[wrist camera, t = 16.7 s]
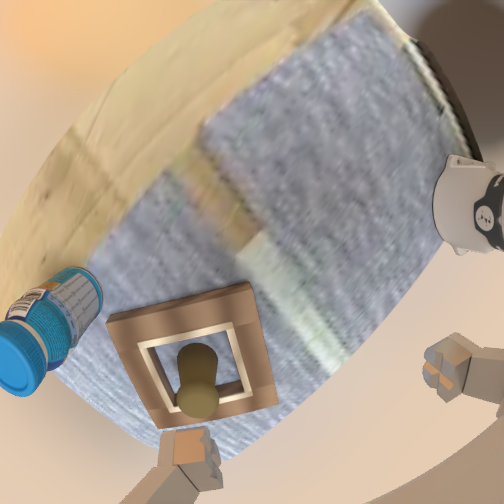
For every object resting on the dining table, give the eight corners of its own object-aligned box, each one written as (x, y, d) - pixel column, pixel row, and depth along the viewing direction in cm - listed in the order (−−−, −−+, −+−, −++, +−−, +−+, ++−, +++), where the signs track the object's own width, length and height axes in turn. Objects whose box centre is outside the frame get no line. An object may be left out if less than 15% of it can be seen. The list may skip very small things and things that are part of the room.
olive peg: (206, 382, 42) (209, 431, 31) (170, 366, 40) (164, 414, 29) (225, 353, 41) (233, 400, 30) (188, 336, 40) (185, 381, 29)
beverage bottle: (114, 286, 36) (51, 364, 17) (92, 331, 37) (36, 420, 18) (65, 253, 34) (-23, 303, 15) (47, 301, 35) (-29, 369, 16)
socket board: (248, 281, 39) (252, 289, 36) (274, 392, 44) (279, 405, 41) (111, 314, 37) (104, 324, 34) (159, 417, 42) (157, 430, 39)
